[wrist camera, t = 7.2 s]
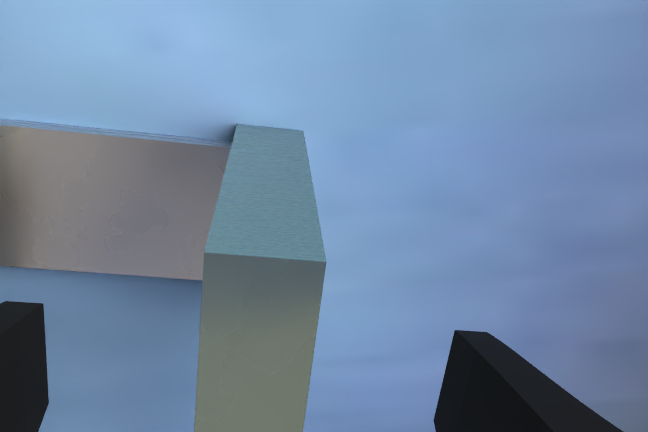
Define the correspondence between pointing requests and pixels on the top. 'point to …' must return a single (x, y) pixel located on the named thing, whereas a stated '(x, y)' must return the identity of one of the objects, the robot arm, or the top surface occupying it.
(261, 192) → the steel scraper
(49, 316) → the top surface
